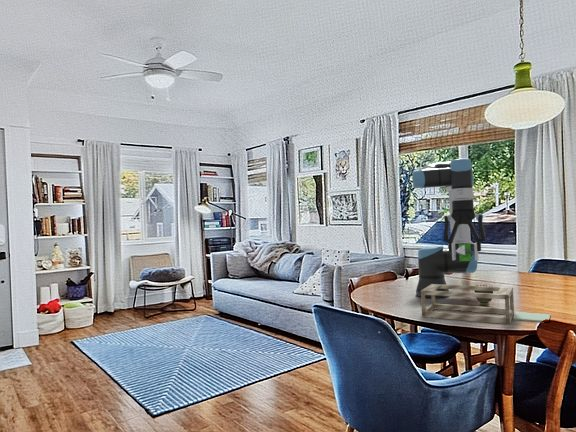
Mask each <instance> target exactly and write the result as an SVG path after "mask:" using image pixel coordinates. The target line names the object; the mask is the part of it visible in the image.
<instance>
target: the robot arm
mask: <svg viewBox="0 0 576 432" xmlns="http://www.w3.org/2000/svg"><path fill="white" fill-rule="evenodd" d="M474 183H475V180H474V172H473V165H472V159H470V158H456V159H455V158H454V159H452V160H451V161H443V162H442V161H441V162H434V163H429V164H427V165H425V166H423V167H421V168H419V169H416V170H413V171H412V187H413V188H414V189H427V188H438V187H439V188H441V187H442V188H444V189H445V191H447V193H448V203H449V204H448V205H449V215H445V216H443V218H444V232H443V241H444V242H447V243H448V244H447V248H444V245H433V246H426V247H422V248H420V249H418V251H417V261H418V264H417V265H418V281H417V284H416V289H415V296H416V295H418V296H417V297H419V296H421V290H423V289H424V288H426V287H428V286H429V285H431V284H440V285H448V284H447V281H446V279H445V274H474V273H475V272H476V271H477V269H478V261H479V252H481V251H482V243H483V242H485V241H486V240H487V237H486V231H485V227H484V221H483V218H484V215H483V214H477V213H475V210H474V207H475V206H474V200H473V199H474V190H473V189H474V188H473V185H474ZM474 219H476V220H477V224H478V228H479V229H478V230H479V233H480V236H479V234H478V232H477V229H476V228H475V225H474V223H473V220H474ZM449 233H450V234H449ZM471 233H472V235H473V238H474V240H475V242H473V241H472V240H471V239H472V237H471ZM449 235H450V236H449ZM459 244H470V245H471V246H472V247H471V251H474V250H475V254H474V255H473V254H471V261H460V259H459V254H457V256H456V252H455V251H456V250H457V248H459ZM472 249H473V250H472ZM472 257H473V259H472ZM436 291H450V289H437V290H436ZM425 297H429V298H428V299H431V295H425ZM441 297H443V298H447V297H449V296H438V295H435V299H442V298H441Z"/></svg>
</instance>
